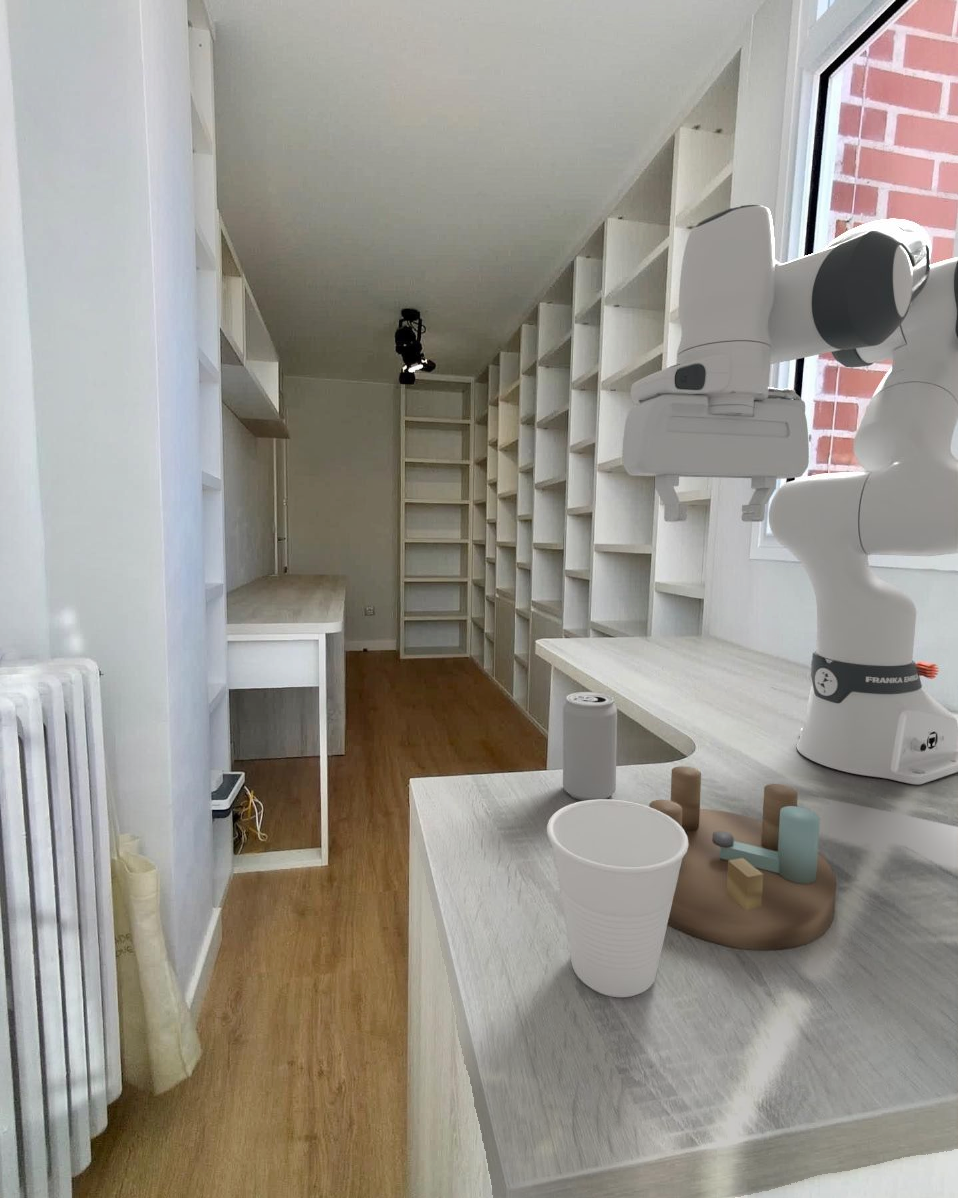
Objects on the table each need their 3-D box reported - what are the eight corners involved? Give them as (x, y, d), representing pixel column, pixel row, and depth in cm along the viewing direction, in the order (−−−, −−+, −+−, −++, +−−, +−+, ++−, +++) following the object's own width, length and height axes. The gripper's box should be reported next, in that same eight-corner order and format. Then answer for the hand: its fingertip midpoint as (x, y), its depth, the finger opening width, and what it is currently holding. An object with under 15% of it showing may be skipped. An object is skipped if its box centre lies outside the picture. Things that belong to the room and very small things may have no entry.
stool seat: (740, 821, 66) (743, 751, 65) (887, 926, 49) (895, 834, 48) (589, 844, 62) (590, 770, 61) (692, 970, 45) (696, 869, 44)
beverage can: (616, 806, 70) (618, 706, 68) (560, 802, 71) (561, 703, 70) (615, 783, 76) (617, 691, 75) (564, 779, 77) (564, 688, 76)
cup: (657, 922, 50) (661, 796, 48) (706, 1021, 40) (712, 867, 39) (538, 926, 50) (538, 800, 48) (557, 1027, 40) (558, 872, 38)
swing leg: (708, 859, 54) (711, 803, 54) (714, 844, 57) (717, 790, 56) (815, 887, 50) (819, 826, 49) (816, 869, 53) (820, 811, 52)
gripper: (782, 396, 67) (774, 521, 68) (616, 384, 61) (612, 521, 63) (829, 383, 61) (820, 521, 62) (650, 369, 55) (645, 521, 57)
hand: (714, 521), depth 63 cm, fingers open, 8 cm apart
